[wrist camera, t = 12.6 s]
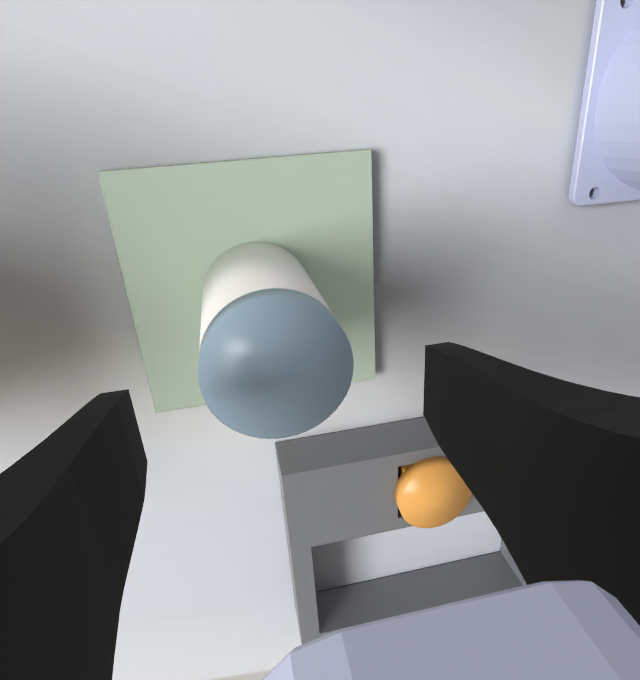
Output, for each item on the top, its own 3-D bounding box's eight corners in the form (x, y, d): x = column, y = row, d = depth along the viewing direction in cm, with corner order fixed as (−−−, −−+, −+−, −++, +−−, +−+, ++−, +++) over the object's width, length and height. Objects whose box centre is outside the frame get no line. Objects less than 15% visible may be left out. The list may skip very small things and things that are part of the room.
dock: (536, 397, 26) (566, 423, 24) (513, 559, 31) (536, 593, 29) (274, 442, 24) (281, 475, 21) (295, 609, 29) (302, 650, 26)
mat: (367, 149, 19) (371, 149, 19) (372, 373, 23) (375, 378, 23) (100, 171, 17) (97, 172, 17) (156, 406, 22) (155, 412, 21)
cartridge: (327, 266, 20) (379, 331, 14) (284, 356, 21) (315, 453, 15) (225, 223, 19) (233, 275, 12) (186, 323, 20) (175, 416, 14)
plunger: (448, 426, 25) (474, 460, 22) (445, 482, 26) (469, 519, 24) (380, 438, 24) (399, 474, 22) (381, 494, 26) (399, 534, 23)
